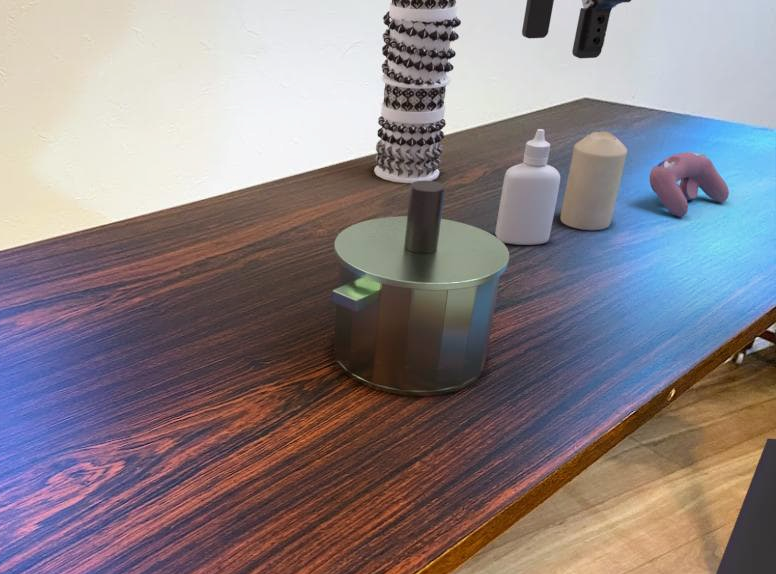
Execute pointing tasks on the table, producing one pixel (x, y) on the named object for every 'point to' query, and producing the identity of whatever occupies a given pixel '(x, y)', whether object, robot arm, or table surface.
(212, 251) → the table surface
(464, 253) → the lid
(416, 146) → the bracelet display stand
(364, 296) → the pot
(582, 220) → the candle
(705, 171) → the video game controller
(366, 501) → the table surface
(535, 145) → the eye dropper bottle
